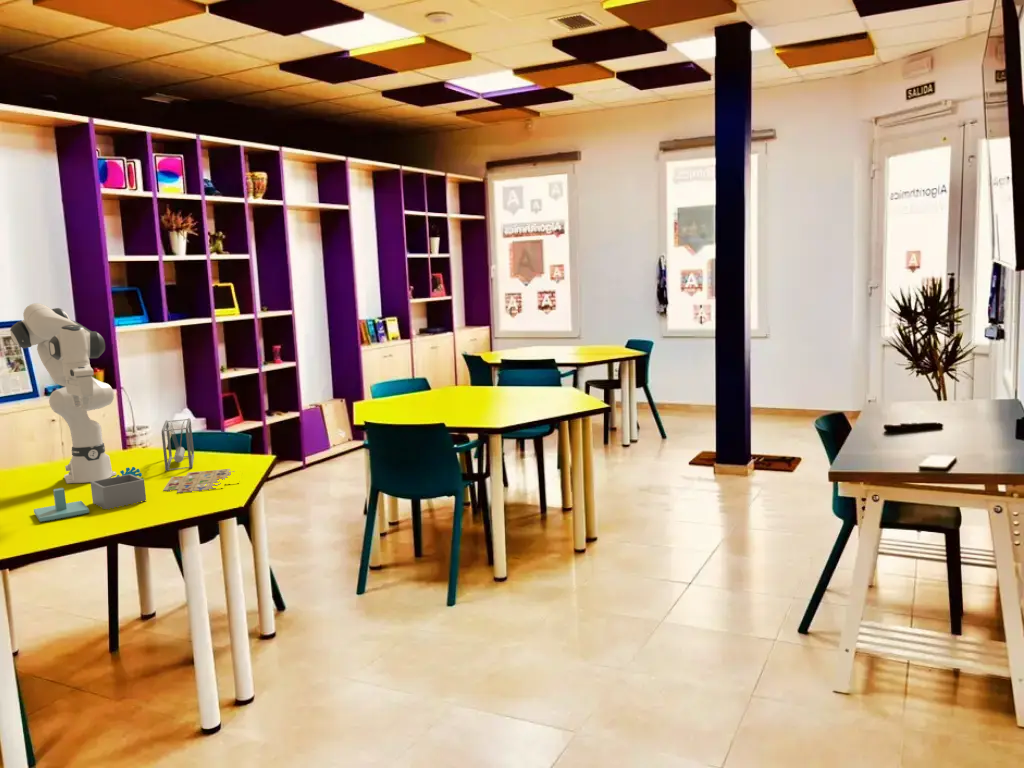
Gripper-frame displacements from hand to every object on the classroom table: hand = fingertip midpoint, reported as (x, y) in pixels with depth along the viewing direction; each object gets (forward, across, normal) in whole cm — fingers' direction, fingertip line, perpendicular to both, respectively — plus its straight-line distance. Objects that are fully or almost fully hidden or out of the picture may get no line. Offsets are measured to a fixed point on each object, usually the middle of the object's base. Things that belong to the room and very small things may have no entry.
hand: (81, 407), depth 309 cm
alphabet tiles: (+35, +10, +39) cm, 53 cm away
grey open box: (+34, +15, +5) cm, 38 cm away
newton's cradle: (+34, -33, +46) cm, 66 cm away
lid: (+34, +15, -14) cm, 39 cm away
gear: (+34, -5, +16) cm, 38 cm away
